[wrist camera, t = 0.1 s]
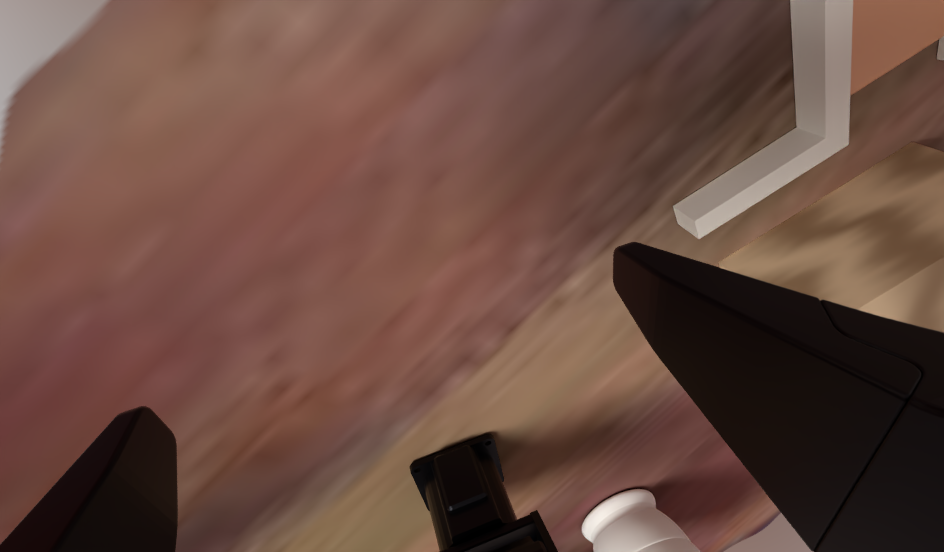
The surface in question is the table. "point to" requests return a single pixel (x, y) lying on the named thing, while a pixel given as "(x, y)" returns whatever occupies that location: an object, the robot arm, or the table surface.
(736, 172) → the white flat frame
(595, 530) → the jar
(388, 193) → the table surface
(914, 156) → the oak block
